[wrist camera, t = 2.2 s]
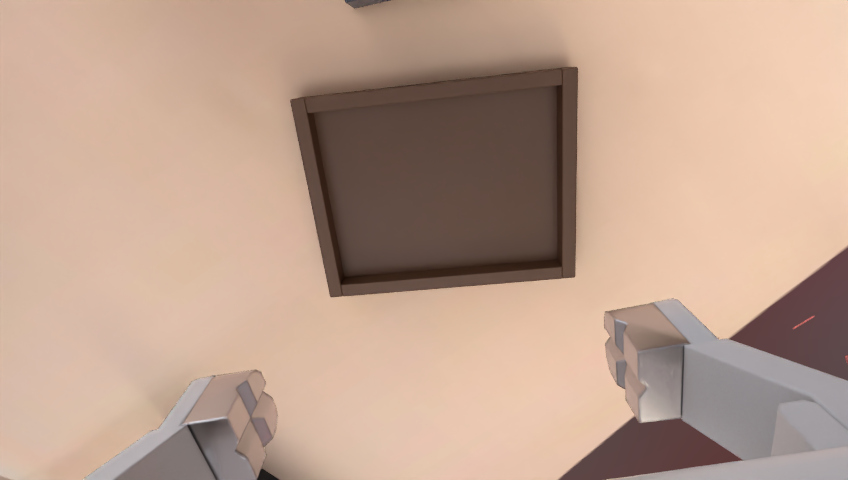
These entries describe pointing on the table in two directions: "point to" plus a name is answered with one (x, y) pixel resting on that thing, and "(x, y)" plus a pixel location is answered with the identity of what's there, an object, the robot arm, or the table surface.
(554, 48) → the table surface
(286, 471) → the table surface
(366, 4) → the slate base
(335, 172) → the walnut tray
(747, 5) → the table surface
